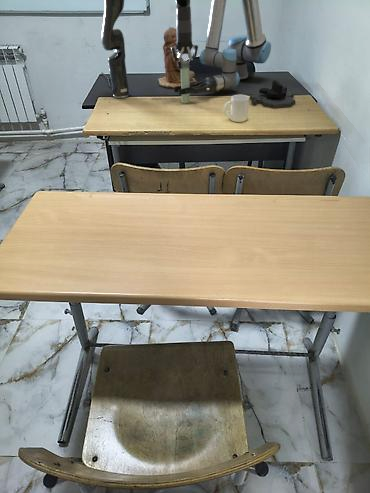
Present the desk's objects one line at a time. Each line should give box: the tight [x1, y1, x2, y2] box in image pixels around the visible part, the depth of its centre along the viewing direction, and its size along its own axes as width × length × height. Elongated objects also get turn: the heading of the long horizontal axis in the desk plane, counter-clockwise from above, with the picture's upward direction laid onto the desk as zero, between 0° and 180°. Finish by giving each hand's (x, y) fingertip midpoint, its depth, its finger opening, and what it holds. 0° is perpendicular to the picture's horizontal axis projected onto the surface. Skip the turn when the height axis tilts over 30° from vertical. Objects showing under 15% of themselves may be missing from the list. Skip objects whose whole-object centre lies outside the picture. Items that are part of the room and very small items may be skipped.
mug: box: [222, 94, 250, 123], centre depth 170 cm, size 12×8×10 cm
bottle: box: [180, 67, 191, 104], centre depth 189 cm, size 4×4×19 cm
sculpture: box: [157, 27, 197, 89], centre depth 214 cm, size 27×24×30 cm
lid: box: [181, 60, 190, 67], centre depth 183 cm, size 5×5×2 cm
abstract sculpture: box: [249, 79, 296, 109], centre depth 189 cm, size 25×9×20 cm
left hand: (185, 68), depth 185 cm, fingers closed on lid, 5 cm apart
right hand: (176, 91), depth 189 cm, fingers closed on bottle, 5 cm apart
